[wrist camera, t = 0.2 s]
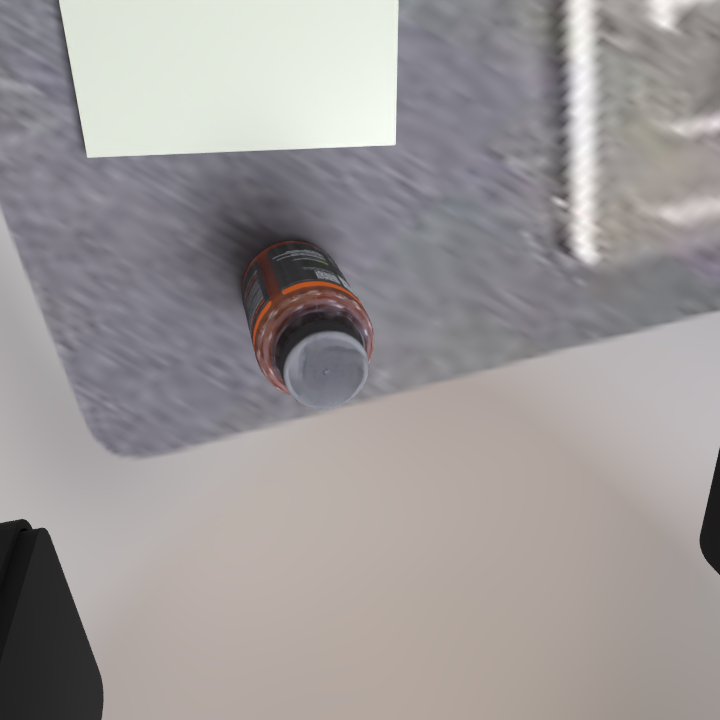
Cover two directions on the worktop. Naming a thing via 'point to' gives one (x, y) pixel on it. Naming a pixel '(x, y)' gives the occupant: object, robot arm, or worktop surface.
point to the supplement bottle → (307, 325)
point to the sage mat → (232, 74)
